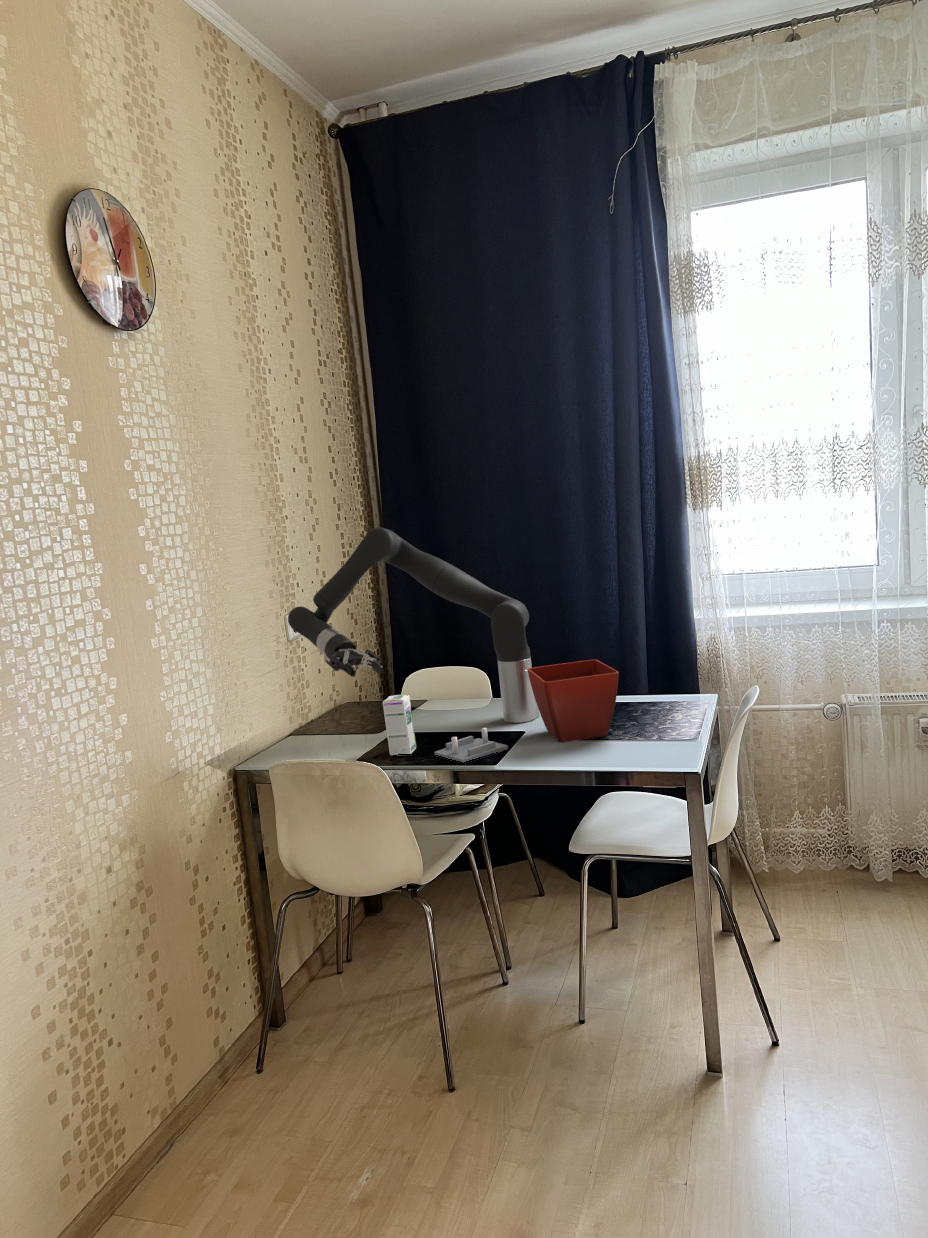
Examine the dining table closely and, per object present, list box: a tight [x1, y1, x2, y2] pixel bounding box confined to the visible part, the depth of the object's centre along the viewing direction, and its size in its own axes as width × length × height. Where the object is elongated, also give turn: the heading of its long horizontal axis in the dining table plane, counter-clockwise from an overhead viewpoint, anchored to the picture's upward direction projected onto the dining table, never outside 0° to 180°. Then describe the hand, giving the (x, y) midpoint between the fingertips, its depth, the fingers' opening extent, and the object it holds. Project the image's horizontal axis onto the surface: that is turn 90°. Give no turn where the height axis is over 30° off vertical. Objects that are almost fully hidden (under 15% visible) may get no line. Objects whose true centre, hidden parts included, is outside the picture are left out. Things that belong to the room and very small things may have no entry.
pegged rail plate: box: [434, 727, 509, 763], centre depth 226 cm, size 14×12×5 cm
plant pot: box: [527, 659, 620, 743], centre depth 231 cm, size 19×19×17 cm
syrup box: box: [382, 694, 417, 756], centre depth 232 cm, size 6×6×14 cm
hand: (368, 672), depth 239 cm, fingers open, 8 cm apart
